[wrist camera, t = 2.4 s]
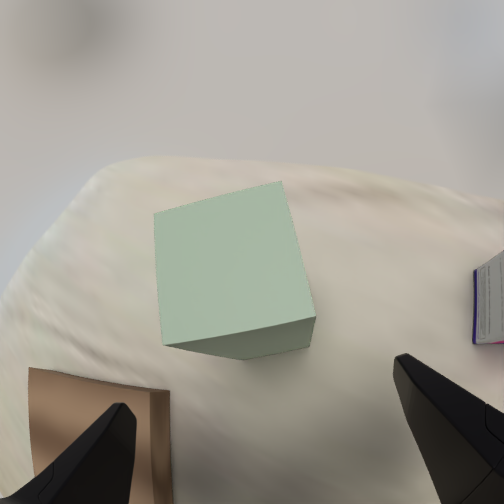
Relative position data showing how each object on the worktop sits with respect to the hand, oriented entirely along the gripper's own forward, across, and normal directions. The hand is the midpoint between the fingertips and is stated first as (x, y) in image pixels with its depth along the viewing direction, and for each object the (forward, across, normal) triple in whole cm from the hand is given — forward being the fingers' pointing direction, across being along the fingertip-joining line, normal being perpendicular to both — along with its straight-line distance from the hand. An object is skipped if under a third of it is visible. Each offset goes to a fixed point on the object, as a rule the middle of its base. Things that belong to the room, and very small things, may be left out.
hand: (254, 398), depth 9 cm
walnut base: (+4, +15, +11) cm, 19 cm away
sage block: (+11, 0, +5) cm, 12 cm away
